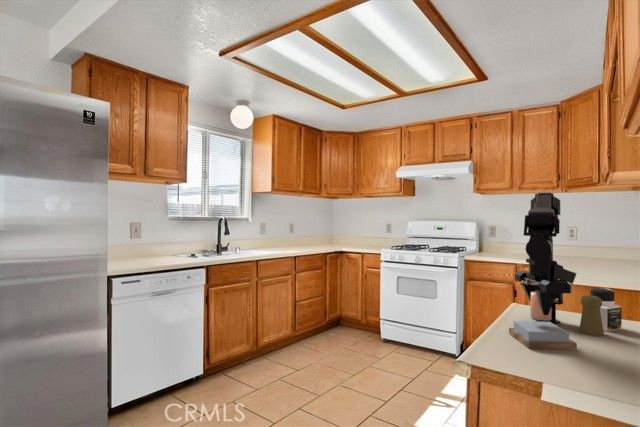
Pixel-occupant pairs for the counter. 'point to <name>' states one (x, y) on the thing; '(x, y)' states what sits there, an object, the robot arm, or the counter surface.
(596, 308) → the olive green tapered piece
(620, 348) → the counter surface
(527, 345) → the walnut slab
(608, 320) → the medicine bottle
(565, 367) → the counter surface
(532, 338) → the slate slab
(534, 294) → the terracotta cylinder
